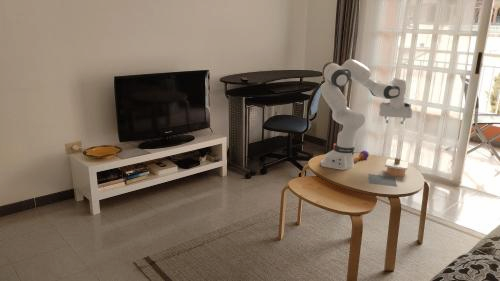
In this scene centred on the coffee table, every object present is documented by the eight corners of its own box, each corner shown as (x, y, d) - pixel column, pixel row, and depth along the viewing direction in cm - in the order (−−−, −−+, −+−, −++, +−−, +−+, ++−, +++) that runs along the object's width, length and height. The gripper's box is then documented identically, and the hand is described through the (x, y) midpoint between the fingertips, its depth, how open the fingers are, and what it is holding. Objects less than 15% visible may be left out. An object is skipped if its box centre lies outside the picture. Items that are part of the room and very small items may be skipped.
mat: (368, 183, 231) (368, 183, 231) (368, 174, 245) (368, 173, 245) (397, 187, 227) (397, 186, 227) (394, 177, 241) (394, 176, 241)
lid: (384, 166, 242) (385, 160, 241) (387, 160, 254) (388, 154, 252) (406, 170, 237) (407, 163, 236) (408, 163, 249) (409, 157, 247)
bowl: (387, 175, 244) (388, 166, 242) (386, 169, 254) (387, 161, 252) (405, 177, 241) (406, 168, 240) (403, 171, 251) (404, 163, 250)
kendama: (347, 157, 265) (362, 149, 279) (348, 165, 266) (363, 157, 280) (355, 158, 261) (369, 149, 274) (356, 166, 262) (370, 157, 276)
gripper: (380, 102, 252) (378, 123, 256) (413, 105, 247) (410, 125, 250) (379, 101, 257) (377, 121, 261) (412, 103, 252) (409, 123, 256)
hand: (394, 123), depth 256 cm, fingers open, 8 cm apart
